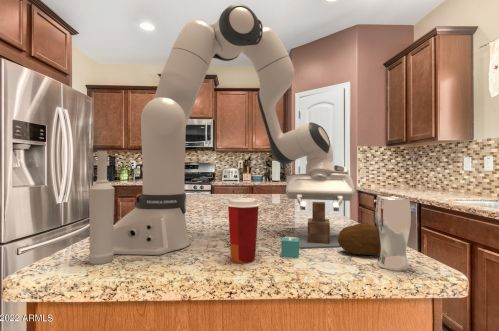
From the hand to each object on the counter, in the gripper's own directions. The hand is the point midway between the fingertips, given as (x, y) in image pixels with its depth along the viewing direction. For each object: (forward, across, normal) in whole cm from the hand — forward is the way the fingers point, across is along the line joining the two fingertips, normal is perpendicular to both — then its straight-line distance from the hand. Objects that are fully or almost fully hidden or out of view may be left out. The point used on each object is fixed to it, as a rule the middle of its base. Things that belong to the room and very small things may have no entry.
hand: (319, 209), depth 84 cm
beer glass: (+19, +16, -5) cm, 25 cm away
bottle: (+28, -48, -14) cm, 57 cm away
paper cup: (+21, -17, -8) cm, 29 cm away
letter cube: (+17, -7, -3) cm, 18 cm away
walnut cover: (+6, 0, +7) cm, 9 cm away
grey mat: (+6, 0, +7) cm, 10 cm away
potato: (+13, +11, +1) cm, 17 cm away
